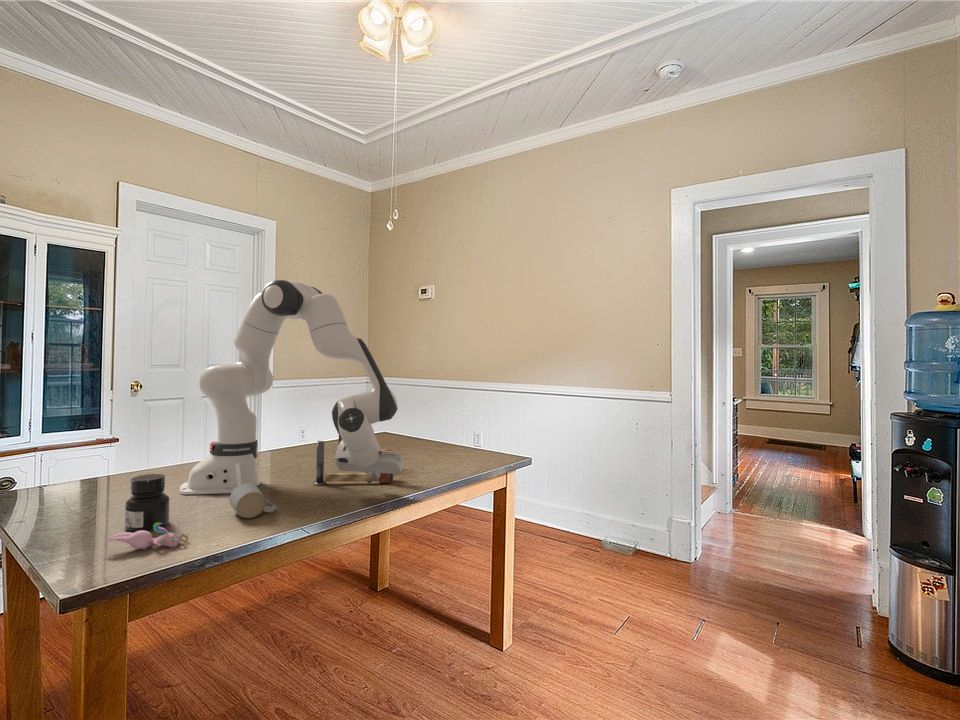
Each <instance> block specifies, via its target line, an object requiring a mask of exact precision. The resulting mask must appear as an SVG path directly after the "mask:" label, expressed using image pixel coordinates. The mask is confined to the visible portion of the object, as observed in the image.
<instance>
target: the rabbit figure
mask: <svg viewBox="0 0 960 720" xmlns="http://www.w3.org/2000/svg"><path fill="white" fill-rule="evenodd" d="M161 524H163V523H155V524H154V526H153V530H152V531H154V532H155V533H161V535H159V536H157V537H153V535H152V533H151V532H150V531H144V530H141V531H137V532H131V531H126V532H125V531H122V532H118V533H115V534H113V535H112V536H109V537H107V540H105V543H109V542H111V541H117V542H120V543H121V542H122V543H126V544H129V545H130V547H132V548H134V549H140V550H143V549H145V550H147V548H150V547H151V544H154V545H156V546H158V547H161V546H165V547H168V548H171V549H172V548H173V547H174V548H177V546H178V545H179V544H180V542H181V541H182V542H183V547H186V546H185V545H186V543H187V542H188V540H189V535H190V534H187V535H185V534H184V533H181V534H179V535H178V534H176V533H175V532H169V531H168V530H167V529H166V528H165V527H160V526H159V525H161ZM162 533H163V534H162ZM183 538H185V539H183ZM174 548H173V549H174Z"/></svg>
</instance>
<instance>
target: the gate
mask: <svg viewBox="0 0 960 720" xmlns="http://www.w3.org/2000/svg"><path fill="white" fill-rule="evenodd" d="M381 451H392V450H391V449H381ZM378 481H379V483H380V484H389V483H391V482H390V473H380V477H379V478H372V477H370V476H369V475H368V474H366V473H365V472H357V473H355V472H352V473H351V472H350V473H349V472H348V473H347V472H345V473H342V472H341V473H338V472H337V473H335V472H334V473H332V472H331V473H325V472H324V482H326V483H328V482H329V483H330V482H332V483H333V482H334V483H336V482H337V483H338V482H343V483H344V482H366V483H368V484H370V483H372V482H378Z"/></svg>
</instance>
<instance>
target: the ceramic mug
mask: <svg viewBox="0 0 960 720" xmlns="http://www.w3.org/2000/svg"><path fill="white" fill-rule="evenodd" d="M229 505H230V506H231V508H232V509H233V511H234V512H235V513H236V514H237V516H239V517H241V518H243V519H248V520H249V519H254V518H257V517H258V516H260V515H261V513H262V512H266V513H269V514H270V513H275V510H276V508H277V507H276V505H275V504H274V503H272V502H270V501H269V500H266V499H265V495H264V494H263V493H262V492H261V490H260V489H259V487H258V486H255V485H253V484H250V483H245V484H241V485H239V486H237V487H236V488H235V489H234V490H233V491H232V493H230V496H229Z"/></svg>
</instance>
